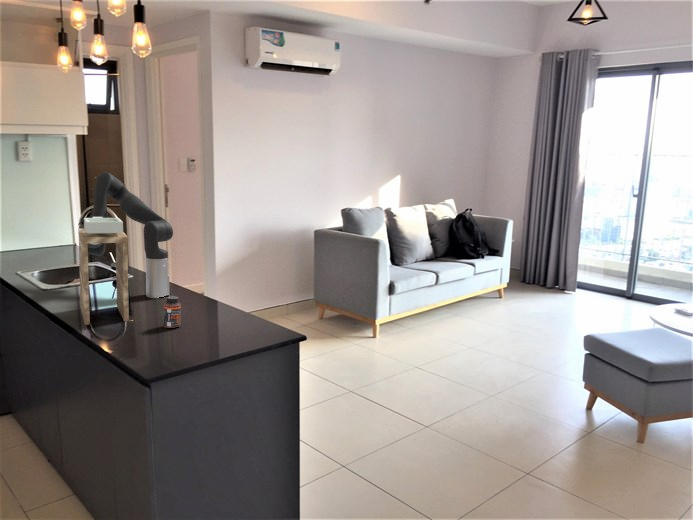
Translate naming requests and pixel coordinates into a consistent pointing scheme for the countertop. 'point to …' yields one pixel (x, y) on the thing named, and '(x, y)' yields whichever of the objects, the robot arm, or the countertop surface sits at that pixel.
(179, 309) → the supplement bottle
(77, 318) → the countertop surface
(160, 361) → the countertop surface
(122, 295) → the oak shelf
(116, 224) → the tray
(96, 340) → the countertop surface
